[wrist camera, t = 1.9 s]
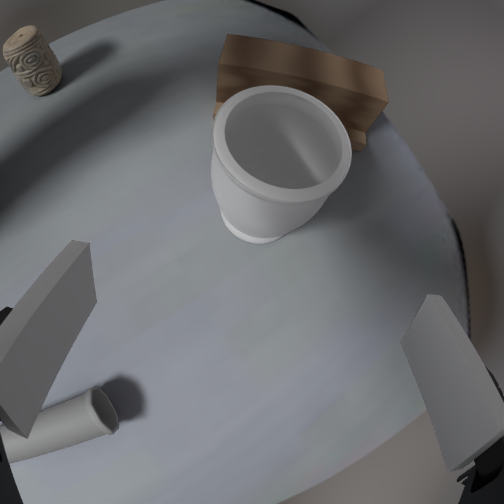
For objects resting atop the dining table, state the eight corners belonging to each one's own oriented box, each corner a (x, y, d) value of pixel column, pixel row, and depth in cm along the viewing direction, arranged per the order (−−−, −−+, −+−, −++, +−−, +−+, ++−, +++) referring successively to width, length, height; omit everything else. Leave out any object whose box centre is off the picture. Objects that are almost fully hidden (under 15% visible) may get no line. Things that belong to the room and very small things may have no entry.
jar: (192, 218, 35) (181, 146, 21) (244, 153, 38) (262, 66, 23) (271, 272, 35) (313, 232, 20) (317, 201, 37) (372, 133, 23)
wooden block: (213, 122, 38) (214, 75, 30) (225, 71, 41) (230, 25, 32) (360, 151, 40) (390, 114, 31) (356, 99, 42) (380, 60, 34)
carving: (35, 76, 38) (10, 29, 26) (71, 69, 38) (49, 16, 27) (22, 104, 36) (-9, 57, 24) (59, 97, 37) (31, 43, 25)
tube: (-20, 478, 20) (116, 441, 25) (-45, 447, 19) (85, 401, 24) (-7, 457, 25) (121, 414, 30) (-30, 428, 24) (95, 377, 29)
